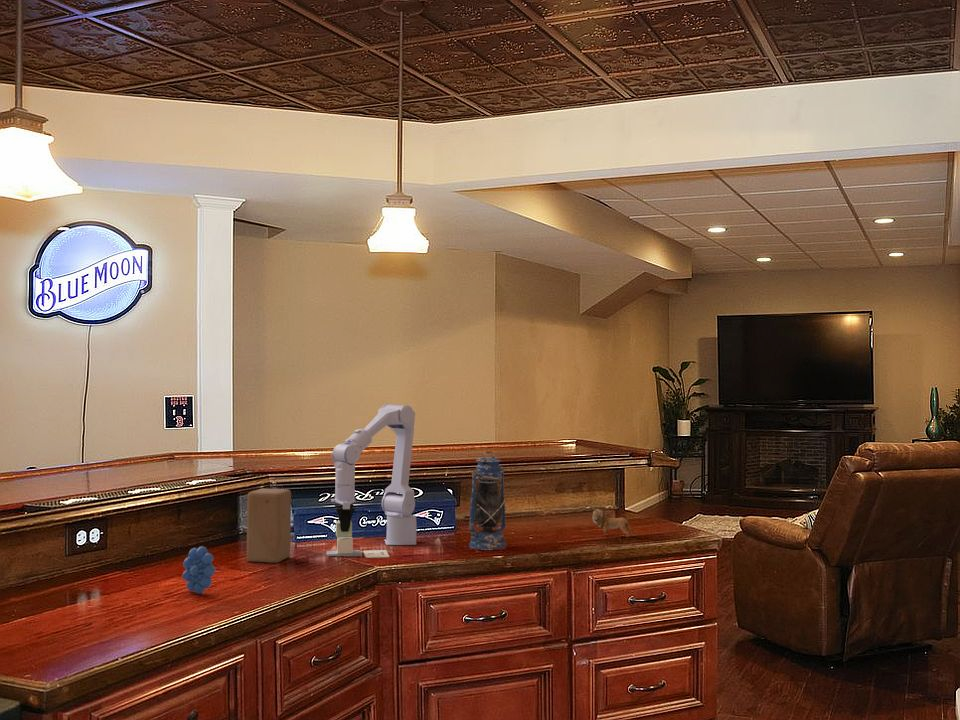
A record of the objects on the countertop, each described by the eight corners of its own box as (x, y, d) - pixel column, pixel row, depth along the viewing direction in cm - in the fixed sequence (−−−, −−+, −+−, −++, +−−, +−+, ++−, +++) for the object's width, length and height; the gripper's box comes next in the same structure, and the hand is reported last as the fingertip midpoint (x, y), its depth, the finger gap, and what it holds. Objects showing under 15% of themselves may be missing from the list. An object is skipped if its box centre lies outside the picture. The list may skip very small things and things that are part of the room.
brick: (352, 550, 300) (352, 537, 300) (352, 553, 296) (352, 539, 296) (337, 550, 299) (337, 537, 299) (337, 553, 295) (337, 539, 295)
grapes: (227, 594, 247) (228, 546, 247) (204, 599, 241) (205, 549, 241) (198, 587, 254) (199, 540, 254) (175, 591, 249) (176, 543, 249)
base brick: (359, 554, 301) (359, 549, 301) (361, 558, 296) (361, 553, 296) (326, 556, 299) (326, 551, 299) (328, 559, 294) (328, 554, 294)
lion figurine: (590, 537, 333) (590, 510, 333) (593, 534, 338) (594, 507, 338) (634, 540, 328) (634, 512, 328) (637, 537, 333) (637, 510, 333)
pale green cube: (350, 533, 300) (351, 520, 300) (351, 536, 296) (352, 523, 296) (335, 534, 299) (335, 520, 299) (336, 536, 295) (336, 523, 295)
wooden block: (277, 564, 283) (278, 493, 283) (245, 562, 285) (246, 492, 285) (291, 557, 293) (292, 489, 293) (259, 555, 295) (260, 487, 295)
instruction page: (385, 550, 304) (386, 549, 304) (389, 557, 295) (389, 556, 295) (362, 551, 303) (363, 550, 303) (365, 557, 293) (365, 556, 293)
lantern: (483, 553, 303) (484, 454, 302) (456, 547, 311) (457, 451, 311) (518, 547, 313) (520, 451, 313) (491, 541, 322) (492, 448, 322)
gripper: (330, 481, 304) (329, 526, 304) (332, 487, 289) (332, 534, 290) (353, 481, 305) (352, 525, 305) (357, 487, 291) (356, 533, 291)
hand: (344, 529), depth 297 cm, fingers closed on pale green cube, 4 cm apart
